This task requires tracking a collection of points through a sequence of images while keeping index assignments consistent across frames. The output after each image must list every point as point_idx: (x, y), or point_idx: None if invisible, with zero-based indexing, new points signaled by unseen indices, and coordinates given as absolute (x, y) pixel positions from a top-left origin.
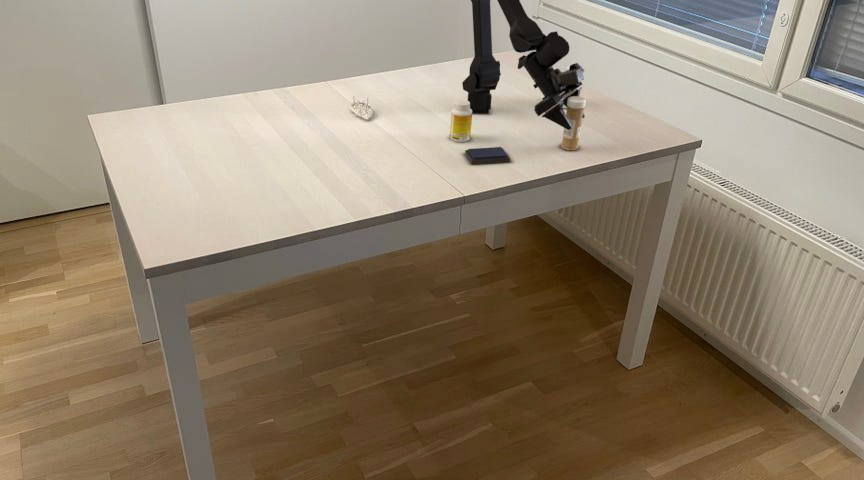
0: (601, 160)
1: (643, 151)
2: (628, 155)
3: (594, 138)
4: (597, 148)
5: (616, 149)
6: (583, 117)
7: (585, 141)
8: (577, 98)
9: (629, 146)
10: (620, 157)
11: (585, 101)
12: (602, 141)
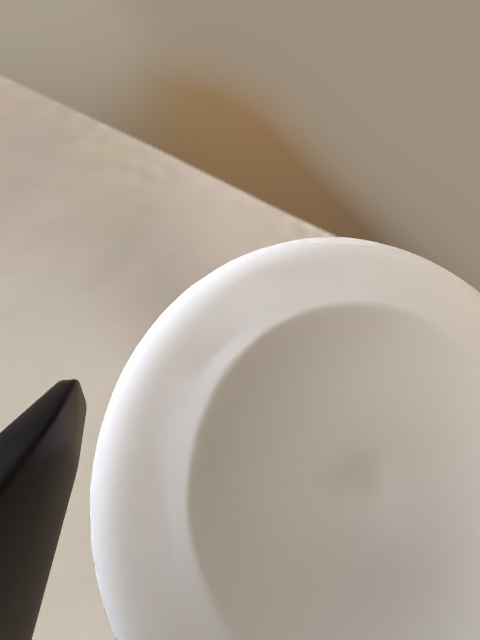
0: (261, 218)
1: (38, 101)
2: (129, 142)
3: (5, 351)
4: (139, 282)
5: (92, 205)
6: (80, 387)
7: (83, 372)
8: (332, 486)
9: (12, 167)
10: (175, 163)
11: (304, 240)
12: (25, 297)
